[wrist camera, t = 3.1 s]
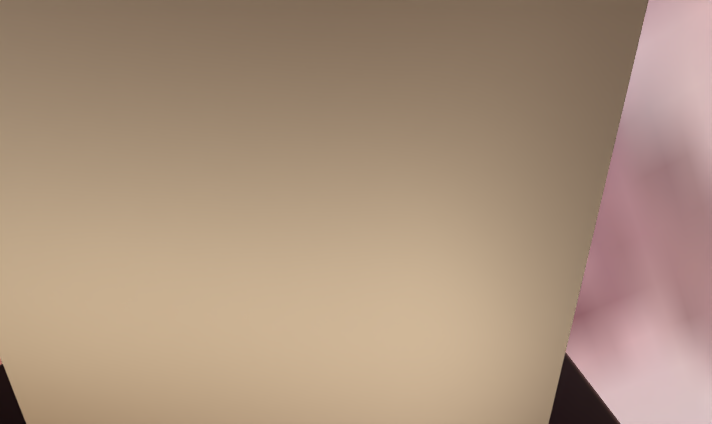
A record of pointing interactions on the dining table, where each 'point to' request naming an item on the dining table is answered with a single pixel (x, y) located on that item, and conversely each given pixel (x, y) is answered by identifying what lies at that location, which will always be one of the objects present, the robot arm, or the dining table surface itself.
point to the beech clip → (300, 205)
